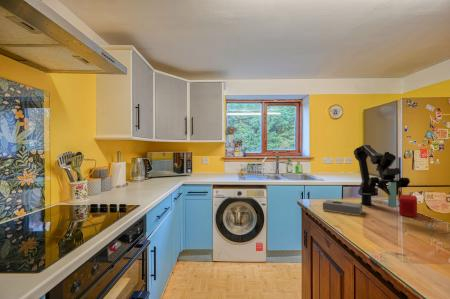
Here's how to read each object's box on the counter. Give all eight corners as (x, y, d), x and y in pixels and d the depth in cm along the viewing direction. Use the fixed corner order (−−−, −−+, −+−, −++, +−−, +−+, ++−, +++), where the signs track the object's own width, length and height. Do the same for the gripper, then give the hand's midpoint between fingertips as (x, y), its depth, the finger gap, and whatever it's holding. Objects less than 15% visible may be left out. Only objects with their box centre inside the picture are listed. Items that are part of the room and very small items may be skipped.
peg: (388, 205, 129) (388, 181, 129) (396, 206, 127) (396, 182, 127) (387, 206, 126) (387, 182, 126) (396, 207, 124) (396, 183, 124)
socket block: (327, 206, 154) (327, 199, 154) (362, 211, 141) (362, 204, 141) (322, 209, 146) (322, 202, 146) (359, 215, 134) (359, 207, 133)
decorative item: (398, 209, 145) (398, 193, 145) (417, 212, 139) (416, 195, 139) (396, 215, 133) (396, 197, 133) (417, 218, 128) (417, 199, 128)
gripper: (370, 162, 133) (377, 185, 122) (408, 162, 128) (419, 186, 118) (365, 175, 140) (372, 197, 130) (401, 175, 136) (411, 198, 125)
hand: (393, 194), depth 125 cm, fingers closed on peg, 4 cm apart
